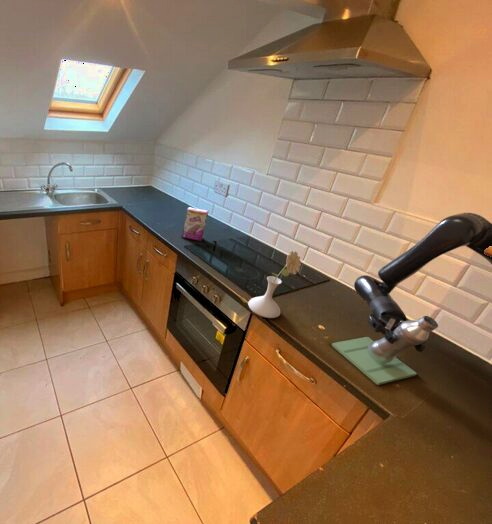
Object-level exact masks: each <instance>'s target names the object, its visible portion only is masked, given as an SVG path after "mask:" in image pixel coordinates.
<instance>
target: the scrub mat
mask: <svg viewBox="0 0 492 524" xmlns="http://www.w3.org/2000/svg"><path fill="white" fill-rule="evenodd" d="M374 341H375V340H373V339H372V338H370V337H369V336H364V337H358V338H352V339H348V340H342V341H335V342H332V343H331V347H333V348H334V349H335V350H336V351H337V352H338V353H339V354H340V355H342V356H343V357H344V358H345V359H347V360H348V362H350V363H351V364H352V365H354V366H355V367H356V368H357V369H358V370H359V371H361V372H362V373H363V374H364V375H365V376H367V377H368V378H369V379H370V380H371V381H372V382H373V383H374V384H375V385H377V386H380V385H385V384H389V383H392V382H396V381H401V380H403V379H404V380H405V379H409V378H412V377H415V376H416V375H417V374H418V373H417V372H416V371H415V370H414V369H412V368H410V367H409V365H407V364H406V363H404V362H403V361H401V360H400V359H399V358H397V356H396V357H395V358H394V359H393V360H392V361H391V362H389V363H385V364H382V363H378V362H376V361H374V360H373V359H372V358H371V357H370V355H369V354H368V346H369V345H370V344H371V343H372V342H374Z"/></svg>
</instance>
